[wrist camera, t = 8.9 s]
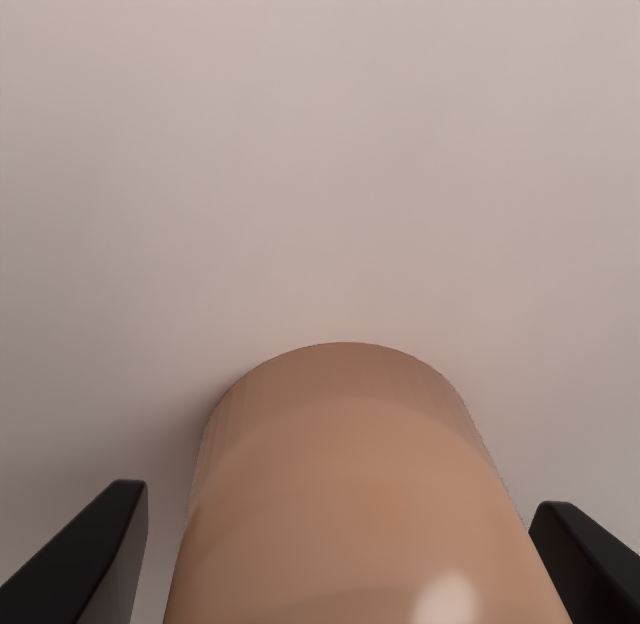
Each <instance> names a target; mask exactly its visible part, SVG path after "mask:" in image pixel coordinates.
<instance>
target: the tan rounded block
mask: <svg viewBox="0 0 640 624" xmlns="http://www.w3.org/2000/svg"><path fill="white" fill-rule="evenodd" d="M163 624H573V623H572V621H571V619H570V617H569V615H568V613H567V611H566V609H565V607H564V605H563V603H562V601H561V599H560V597H559V595H558V593H557V591H556V588H555V586H554V584H553V582H552V580H551V578H550V576H549V574H548V572H547V570H546V568H545V566H544V564H543V562H542V560H541V558H540V556H539V554H538V552H537V550H536V548H535V546H534V544H533V542H532V540H531V538H530V536H529V534H528V532H527V530H526V528H525V525H524V523H523V521H522V519H521V517H520V515H519V513H518V511H517V509H516V507H515V505H514V503H513V501H512V499H511V497H510V495H509V493H508V491H507V489H506V487H505V485H504V483H503V481H502V479H501V477H500V475H499V473H498V471H497V469H496V467H495V465H494V462H493V460H492V458H491V456H490V454H489V452H488V450H487V448H486V446H485V444H484V442H483V440H482V438H481V436H480V434H479V432H478V430H477V428H476V426H475V424H474V422H473V420H472V418H471V416H470V414H469V412H468V410H467V408H466V406H465V404H464V402H463V400H462V398H461V397H460V395H459V394H458V393H457V391H456V390H455V388H454V387H453V386H452V385H451V384H450V383H449V382H448V381H447V380H446V379H445V378H444V377H443V376H442V375H441V374H440V373H438V372H437V371H436V370H434V369H433V368H432V367H431V366H429V365H427V364H426V363H424V362H422V361H420V360H419V359H417V358H415V357H413V356H410V355H408V354H405V353H403V352H400V351H398V350H395V349H391V348H387V347H383V346H379V345H373V344H366V343H353V342H337V343H326V344H318V345H313V346H308V347H303V348H299V349H296V350H293V351H290V352H287V353H284V354H281V355H279V356H277V357H275V358H273V359H271V360H269V361H266V362H264V363H263V364H261V365H259V366H258V367H256V368H255V369H253V370H251V371H250V372H248V373H247V374H246V375H245V376H243V377H242V378H241V379H240V380H239V381H237V382H236V383H235V384H234V385H233V386H232V387H231V388H230V389H229V390H228V391H227V392H226V394H225V395H224V396H223V397H222V398H221V400H220V401H219V403H218V404H217V406H216V407H215V409H214V410H213V412H212V414H211V416H210V418H209V420H208V422H207V424H206V428H205V431H204V434H203V438H202V442H201V447H200V451H199V456H198V461H197V465H196V470H195V475H194V479H193V484H192V489H191V493H190V498H189V503H188V507H187V512H186V517H185V521H184V526H183V531H182V535H181V540H180V545H179V549H178V554H177V559H176V564H175V568H174V573H173V578H172V582H171V587H170V592H169V596H168V601H167V606H166V610H165V615H164V620H163Z"/></svg>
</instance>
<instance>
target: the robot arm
mask: <svg viewBox="0 0 640 624" xmlns="http://www.w3.org/2000/svg"><path fill="white" fill-rule="evenodd" d="M147 534H148V489H147V484H146V483H145V482H144V481H142V480H126V479H118V480H115V481H113V482H112V483H111V484H110V485H109V486H108V487H107V488H106V489H104V490H103V491H102V492H101V493H100V494H99V495H98V496H97V497H96V498H95V499H94V500H93V501H92V502H91V503H89V504H88V505H87V506H86V507H85V508H84V509H83V510H82V511H81V512H80V513H79V514H78V515H77V516H76V517H75V518H73V519H72V520H71V521H70V522H69V523H68V524H67V525H66V526H65V527H64V528H63V529H62V530H61V531H60V532H58V533H57V534H56V535H55V536H54V537H53V538H52V539H51V540H50V541H49V542H48V543H47V544H46V545H45V546H44V547H42V548H41V549H40V550H39V551H38V552H37V553H36V554H35V555H34V556H33V557H32V558H31V559H30V560H29V561H28V562H26V563H25V564H24V565H23V566H22V567H21V568H20V569H19V570H18V571H17V572H16V573H15V574H14V575H13V576H11V577H10V578H9V579H8V580H7V581H6V582H5V583H4V584H3V585H2V586H1V587H0V624H129V623H130V618H131V614H132V609H133V604H134V599H135V594H136V589H137V585H138V580H139V575H140V570H141V565H142V560H143V556H144V551H145V546H146V541H147ZM528 534H529V536H530V538H531V540H532V542H533V544H534V546H535V548H536V550H537V552H538V554H539V556H540V558H541V560H542V562H543V564H544V566H545V568H546V570H547V572H548V574H549V576H550V578H551V580H552V582H553V584H554V586H555V588H556V591H557V593H558V595H559V597H560V599H561V601H562V603H563V605H564V607H565V609H566V611H567V613H568V615H569V617H570V619H571V621H572V623H573V624H640V556H639V555H638V554H636V553H635V552H634V551H632V550H631V549H630V548H629V547H627V546H626V545H625V544H624V543H622V542H621V541H620V540H618V539H617V538H616V537H615V536H613V535H612V534H611V533H609V532H608V531H607V530H606V529H604V528H603V527H602V526H600V525H599V524H598V523H597V522H595V521H594V520H593V519H591V518H590V517H589V516H588V515H586V514H585V513H584V512H582V511H581V510H580V509H579V508H577V507H576V506H575V505H573V504H571V503H569V502H561V501H543V502H542V503H541V504H539V506H538V508H537V510H536V513H535V515H534V518H533V520H532V523H531V526H530V528H529V531H528Z"/></svg>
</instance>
